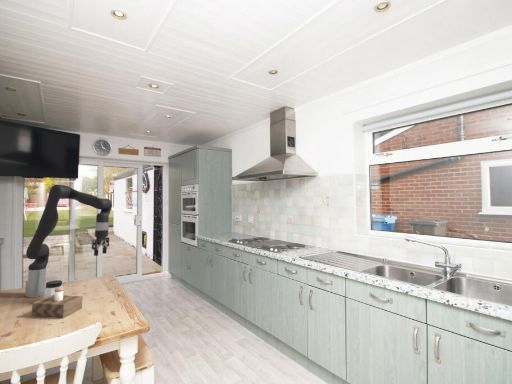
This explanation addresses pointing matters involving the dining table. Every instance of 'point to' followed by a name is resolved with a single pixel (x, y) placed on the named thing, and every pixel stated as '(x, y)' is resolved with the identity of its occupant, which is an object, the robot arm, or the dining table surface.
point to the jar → (52, 287)
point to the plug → (58, 294)
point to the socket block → (56, 307)
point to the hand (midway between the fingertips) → (100, 254)
